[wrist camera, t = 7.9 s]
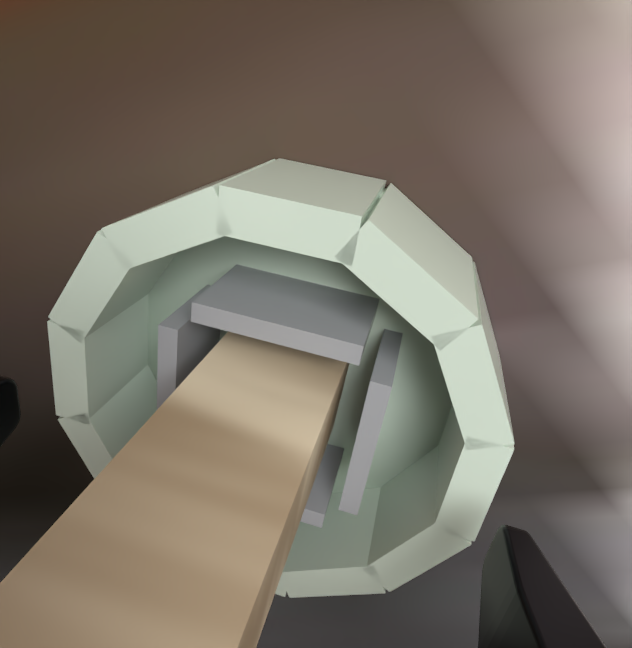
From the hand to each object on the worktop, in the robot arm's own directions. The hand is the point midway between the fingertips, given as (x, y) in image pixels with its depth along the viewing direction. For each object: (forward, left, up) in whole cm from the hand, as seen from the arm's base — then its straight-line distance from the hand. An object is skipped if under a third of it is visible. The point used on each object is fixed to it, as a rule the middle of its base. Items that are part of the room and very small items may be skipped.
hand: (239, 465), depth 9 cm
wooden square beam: (0, 0, -3) cm, 3 cm away
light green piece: (0, 0, -4) cm, 4 cm away
